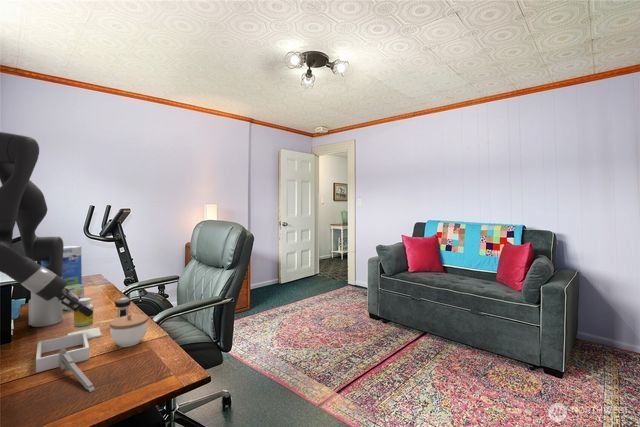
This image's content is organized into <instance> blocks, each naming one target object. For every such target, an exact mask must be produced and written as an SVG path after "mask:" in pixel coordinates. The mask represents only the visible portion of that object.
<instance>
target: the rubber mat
mask: <svg viewBox="0 0 640 427" xmlns="http://www.w3.org/2000/svg"><path fill="white" fill-rule="evenodd" d="M84 332H85V333H86V337H87V340H91V339H95V338H99V337H102V332H101V330H100V326H98V327H94V328H93V327H92V328H86V329H81V330H78V331H73V332H68V333H67V335H66V336H69V335H74V334H79V333H84Z"/></svg>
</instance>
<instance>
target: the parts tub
mask: <svg viewBox="0 0 640 427" xmlns="http://www.w3.org/2000/svg"><path fill="white" fill-rule="evenodd" d="M80 345H82V347H81V348H77V349H73V350H66V353H67V354H68V355H69V356H70V357H71V358H72V359H73V362H74V363H75V364H76V363H79V362H83V361H87V360H90V346H89V341H88V339H87V337H86V333H85V332H84V333H79V334H74V335H69V336H67V335H65V336H60V337H56V338H55V337H54V338H50V339H47V340H41V341H38V342H37V348H36V356H35V372H36V373H40V372H43V371H44V372H45V371H49V370H51V369H55V368H59V353H54V354H51V355H46V356H43V357H42V354H44V353H45V354H46V353H49V352H50V353H51V352H53V351H60V348H62V347H65V349H67V348H72V347H75V346H80Z"/></svg>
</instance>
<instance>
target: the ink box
mask: <svg viewBox="0 0 640 427" xmlns="http://www.w3.org/2000/svg"><path fill="white" fill-rule="evenodd" d="M64 280H65V281H69V280H75V281H74V282H69V283H67V285H66V287H65V288H64V289H68V290H70V291H72V292H73V293H74V294H76V295H77V296H78V297H80V298H85V284H83V283H82V284H78V276H77V277H72V278H67V279H64ZM74 307H75V306H74ZM66 310H67V311H68V312H69V311H73V310H72V309H70V308H69V307H67V306H65V305H64V304H63V311H66ZM67 311H66V312H67Z"/></svg>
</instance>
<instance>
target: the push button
mask: <svg viewBox="0 0 640 427" xmlns="http://www.w3.org/2000/svg"><path fill="white" fill-rule="evenodd" d="M131 302H132V299H130V298H129V297H121V298H118V299H117V300H116V301H115V302H114V305H115V306H114V307H115V308H116V310H117V311H116V312H117V316H116V318H119V317H122V316H127V315H129V314H130V313H129V312H130V311H129V306H130V305H131Z"/></svg>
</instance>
